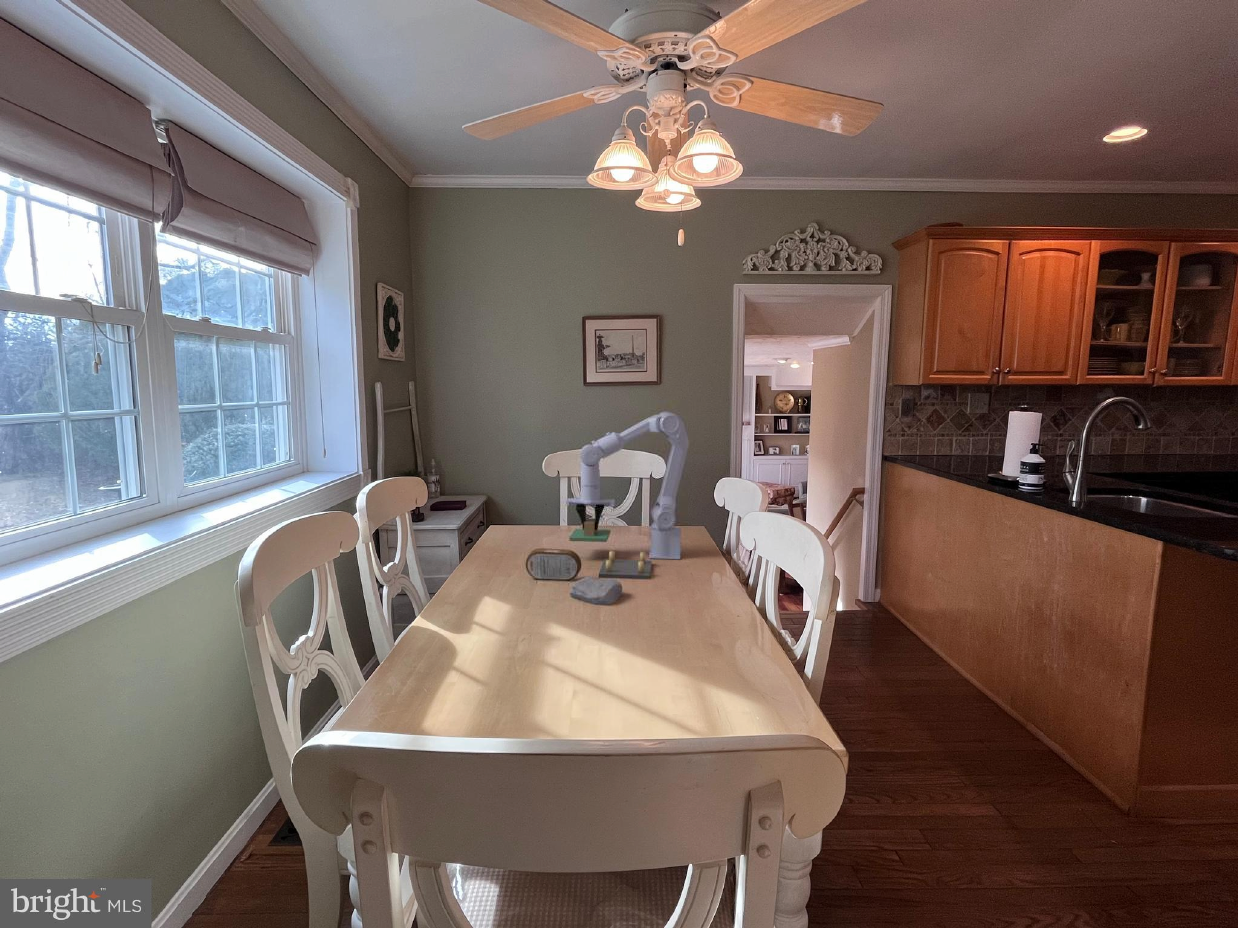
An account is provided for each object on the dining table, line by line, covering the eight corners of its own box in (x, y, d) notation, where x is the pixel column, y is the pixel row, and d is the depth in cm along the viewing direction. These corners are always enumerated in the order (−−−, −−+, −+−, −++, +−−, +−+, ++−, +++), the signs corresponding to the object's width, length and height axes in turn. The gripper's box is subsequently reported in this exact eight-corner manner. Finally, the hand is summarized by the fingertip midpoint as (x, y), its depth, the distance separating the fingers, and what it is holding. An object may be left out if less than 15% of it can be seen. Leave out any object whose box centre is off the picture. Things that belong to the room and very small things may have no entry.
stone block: (608, 614, 147) (625, 593, 155) (606, 596, 145) (623, 576, 154) (565, 607, 152) (584, 588, 160) (562, 590, 150) (581, 571, 159)
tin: (581, 578, 166) (581, 548, 165) (579, 582, 163) (579, 552, 162) (527, 576, 168) (527, 546, 167) (524, 580, 165) (524, 550, 164)
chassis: (651, 563, 180) (651, 550, 180) (649, 579, 166) (649, 564, 166) (604, 562, 181) (604, 549, 181) (598, 577, 168) (598, 563, 167)
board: (610, 532, 191) (610, 517, 190) (606, 542, 180) (606, 525, 179) (575, 531, 192) (575, 516, 191) (569, 540, 181) (569, 524, 180)
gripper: (564, 486, 180) (564, 531, 182) (612, 487, 179) (612, 532, 181) (568, 482, 187) (568, 526, 189) (615, 483, 186) (615, 527, 188)
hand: (590, 529), depth 185 cm, fingers closed on board, 3 cm apart
